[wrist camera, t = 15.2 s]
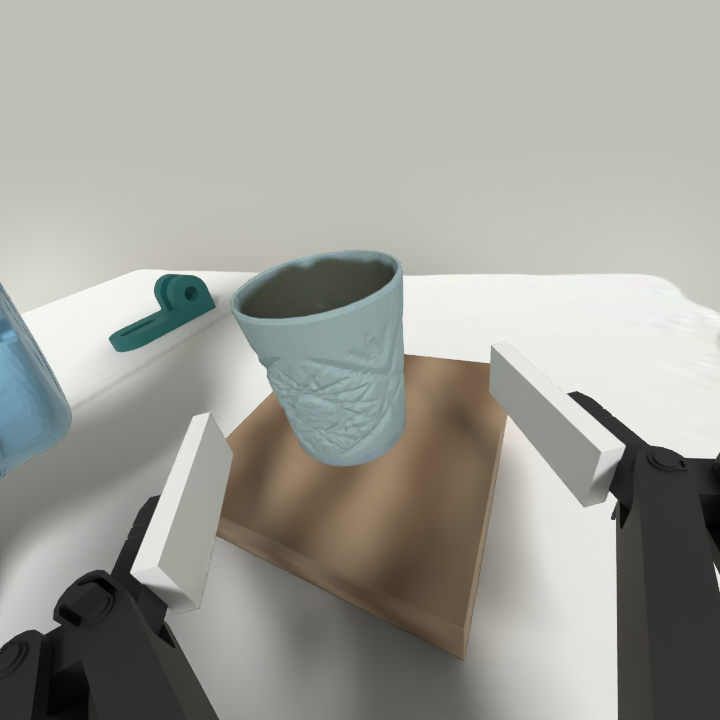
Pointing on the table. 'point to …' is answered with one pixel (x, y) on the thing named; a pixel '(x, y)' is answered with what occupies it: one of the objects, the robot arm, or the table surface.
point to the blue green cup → (332, 350)
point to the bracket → (166, 311)
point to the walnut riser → (380, 504)
